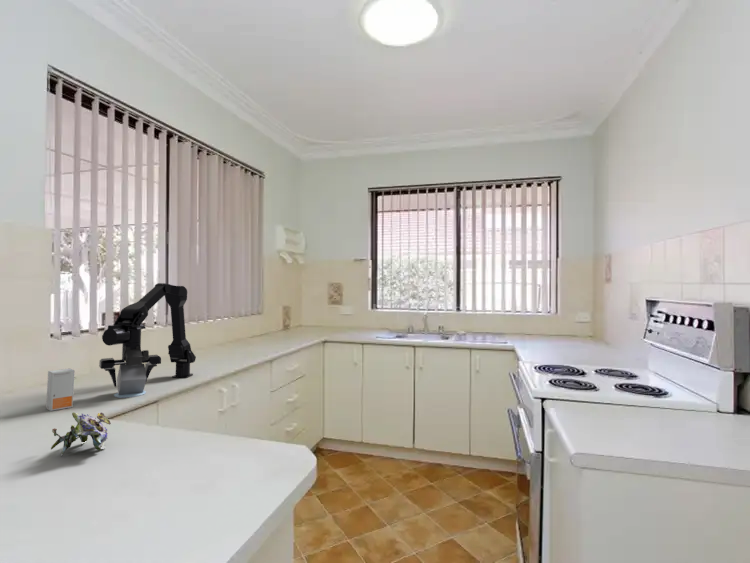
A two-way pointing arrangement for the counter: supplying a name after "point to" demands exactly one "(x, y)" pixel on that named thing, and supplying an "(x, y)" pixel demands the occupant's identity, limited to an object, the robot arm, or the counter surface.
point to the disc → (129, 395)
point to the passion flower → (85, 431)
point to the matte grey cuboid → (131, 379)
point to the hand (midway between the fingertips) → (130, 385)
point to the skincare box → (60, 389)
